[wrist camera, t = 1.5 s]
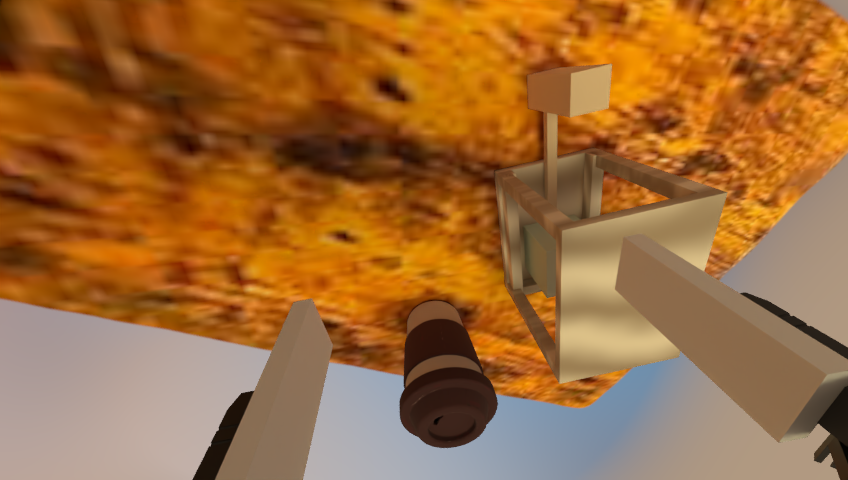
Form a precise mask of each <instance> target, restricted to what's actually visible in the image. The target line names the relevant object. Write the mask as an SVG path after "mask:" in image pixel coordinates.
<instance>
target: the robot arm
mask: <svg viewBox="0 0 848 480" xmlns="http://www.w3.org/2000/svg"><path fill="white" fill-rule="evenodd" d="M615 290H616V291H617V292H618V293H619V294H620V295H621V296H622V297H623V298H624V299H625V300H627V301H628V302H629V303H630V304H631V305H632V306H633V307H634V308H635V309H636V310H637V311H638V312H639V313H640V314H642V315H643V316H644V317H645V318H646V319H647V320H648V321H649V322H650V323H651V324H652V325H653V326H654V327H655V328H656V329H658V330H659V331H660V332H661V333H662V334H663V335H664V336H665V337H666V338H667V339H668V340H669V341H670V342H671V343H672V344H674V345H675V346H676V347H677V348H678V349H679V350H680V351H681V352H682V353H683V354H684V355H685V356H686V357H687V358H689V359H690V360H691V361H692V362H693V363H694V364H695V365H696V366H697V367H698V368H699V369H700V370H701V371H702V372H703V373H705V374H706V375H707V376H708V377H709V378H710V379H711V380H712V381H713V382H714V383H715V384H716V385H717V386H718V387H720V388H721V389H722V390H723V391H724V392H725V393H726V394H727V395H728V396H729V397H730V398H731V399H732V400H733V401H734V402H736V403H737V404H738V405H739V406H740V407H741V408H742V409H743V410H744V411H745V412H746V413H747V414H748V415H749V416H751V417H752V418H753V419H754V420H755V421H756V422H757V423H758V424H759V425H760V426H761V427H762V428H763V429H764V430H765V431H766V432H768V433H769V434H770V435H771V436H772V437H773V438H774V439H775V440H776V441H777V442H778V443H781V442H786V441H791V440H795V439H800V438H806V437H808V435H809V434H810V433H811V431H812V430H813V429H814V428H815V426H816V425H817V424H820V425H821V426H822V427H823V428H824V429H826V430H827V431H828V432H829V433H831V434H830V435H829V436H828V437H827V439H826V440H825V441H824V442H823V443H822V445H821V446H820V447H819V448H818V450H817V451H816V452H815V453H814V461H817V462H820V463H821V462H822V461H823V460H824V459H825V458H826V457H827V456H828V455H829V453H831V455H832V458H833V462H832V464H831V467H833V468H835V469H837V472H838V475H839V478H840V480H848V347H846V346H844V345H842V344H841V343H839V342H837V341H836V340H834V339H832V338H830V337H829V336H827V335H825V334H824V333H822V332H820V331H819V330H817V329H815V328H814V327H812V326H807V325H806V323H805V322H803V321H801V320H800V319H798V318H796V317H795V316H790V315H789V313H788V312H786V311H784V310H783V309H781V308H779V307H777V306H776V305H774V304H772V303H771V302H769V301H767V300H764V299H761V298H758V297H756V296H753V295H751V294H748V293H738V292H736V291H735V290H733V289H731V288H730V287H728V286H727V285H725V284H723V283H722V282H720V281H719V280H717V279H715V278H714V277H712V276H710V275H709V274H707V273H705V272H704V271H702V270H701V269H699V268H697V267H696V266H694V265H692V264H691V263H689V262H687V261H686V260H684V259H683V258H681V257H679V256H678V255H676V254H674V253H673V252H671V251H669V250H668V249H666V248H665V247H663V246H661V245H660V244H658V243H656V242H655V241H653V240H651V239H650V238H648V237H647V236H645V235H643V234H642V233H641V234H636V235H631V236H626V237H623V242H622V248H621V254H620V260H619V266H618V273H617V279H616V285H615ZM332 347H333V345H332V342H331V340H330V338H329V336H328V333H327V331H326V329H325V327H324V324H323V322H322V320H321V318H320V316H319V313H318V311H317V309H316V307H315V304H314V302H313V300H312V299H307V300H302V301H297V302H294V303H293V305H292V307H291V309H290V312H289V314H288V316H287V318H286V321H285V323H284V325H283V327H282V330H281V332H280V334H279V336H278V339H277V341H276V343H275V345H274V348H273V350H272V352H271V354H270V357H269V359H268V361H267V364H266V366H265V368H264V370H263V373H262V375H261V377H260V379H259V382H258V384H257V386H256V388H255V391H250V392H245V393H241V394H240V395H239V397H238V398H237V399H236V400H235V401H234V403H233V404H232V405H231V406H230V407H229V409H228V410H227V412H226V414H225V416H224V418H223V420H222V422H221V424H220V426H219V430H218V431H217V432H216V434H215V436H214V438H213V440H212V442H211V446H209V448H208V450H207V452H206V454H205V456H204V458H203V460H202V462H201V464H200V466H199V468H198V470H197V472H196V474H195V476H194V478H193V480H303V476H304V472H305V467H306V463H307V459H308V454H309V449H310V445H311V441H312V436H313V432H314V427H315V422H316V418H317V414H318V409H319V405H320V400H321V396H322V391H323V387H324V382H325V378H326V373H327V369H328V364H329V360H330V356H331V351H332Z"/></svg>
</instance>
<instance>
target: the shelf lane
mask: <svg viewBox="0 0 848 480" xmlns="http://www.w3.org/2000/svg"><path fill="white" fill-rule="evenodd" d="M604 171H607V172H609V173H611V174H614V175H616V176H618V177H621V178H623V179H625V180H628V181H630V182H633V183H635V184H637V185H640V186H642V187H644V188H647V189H649V190H651V191H654V192H656V193H658V194H661V195H663V196H666V197H668V198H670V199H669V200H664V201H660V202H656V203H651V204H647V205H643V206H638V207H634V208H630V209H625V210H621V211H617V212H612V213H608V214H603V215H600V209H601V197H602V185H603V173H604ZM494 174H495V184H496V195H497V205H498V216H499V226H500V236H501V247H502V257H503V268H504V278H505V286H506V288H507V290H508V292H509V294H510V295H511V297H512V299H513V301H514V303H515V304H516V306H517V308H518V310H519V312H520V313H521V315H522V317H523V319H524V321H525V322H526V324H527V326H528V328H529V330H530V331H531V333H532V335H533V337H534V339H535V340H536V342H537V344H538V346H539V348H540V349H541V351H542V353H543V355H544V357H545V359H546V360H547V362H548V364H549V366H550V368H551V369H552V371H553V373H554V375H555V377H556V378H557V380H558V382H559V384H561V383H565V382H570V381H574V380H579V379H583V378H587V377H592V376H596V375H601V374H605V373H610V372H614V371H619V370H623V369H628V368H632V367H637V366H641V365H646V364H650V363H655V362H659V361H664V360H668V359H673V358H677V357H679V354H680V350H679V349H678V348H677V347H676V346H675V345H674V344H672V343H671V342H670V341H669V340H668V339H667V338H666V337H665V336H664V335H663V334H662V333H661V332H660V331H659V330H658V329H656V328H655V327H654V326H653V325H652V324H651V323H650V322H649V321H648V320H647V319H646V318H645V317H644V316H643V315H642V314H640V313H639V312H638V311H637V310H636V309H635V308H634V307H633V306H632V305H631V304H630V303H629V302H628V301H627V300H625V299H624V298H623V297H622V296H621V295H620V294H619V293H618V292H617V291H616V290H615V285H616V279H617V273H618V266H619V260H620V254H621V248H622V242H623V237H626V236H631V235H636V234H641V233H642V234H643V235H645V236H647V237H648V238H650V239H651V240H653V241H655V242H656V243H658V244H660V245H661V246H663V247H665V248H666V249H668V250H669V251H671V252H673V253H674V254H676V255H678V256H679V257H681V258H683V259H684V260H686V261H687V262H689V263H691V264H692V265H694V266H696V267H697V268H699V269H701V270H702V271H704V270H705V267H706V263H707V260H708V257H709V253H710V250H711V246H712V243H713V240H714V236H715V233H716V230H717V226H718V223H719V219H720V216H721V213H722V209H723V206H724V203H725V199H726V196H727V192H724V191H721V190H718V189H715V188H712V187H709V186H706V185H703V184H700V183H698V182H695V181H692V180H689V179H686V178H683V177H680V176H677V175H674V174H671V173H668V172H665V171H662V170H659V169H656V168H653V167H650V166H647V165H644V164H641V163H638V162H635V161H632V160H629V159H626V158H623V157H620V156H617V155H614V154H611V153H608V152H605V151H602V150H599V149H596V148H590V149H586V150H581V151H577V152H573V153H568V154H564V155H560V156H557V208H556V207H554V206H553V205H552V204H550V203H549V202H548V201H547V200H545V188H544V159H543V160H538V161H534V162H530V163H526V164H521V165H517V166H513V167H508V168H504V169H500V170H495V171H494ZM573 214H574V215H575V216H576V217H578V218H579V219H581V220H577V221H572V220H571V219H570V218H568V217H567V216H569V215H573ZM534 223H539V224H540V225H541V226H542V227H543V228H544V229H545V230H546V231H547V232H548V233H549V234H550V235H551V236H552V237H553V238H554V239H555V240H556V337H555V343H554V341H553V340H552V338H551V336H550V335H549V333H548V332H547V330H546V328H545V327H544V325H543V324H542V322H541V320H540V319H539V317H538V315H537V314H536V312H535V311H534V309H533V307H532V306H531V304H530V303H529V301H528V299H527V298H526V296H525V295H526V294H531V293H535V292H540V291H542V290H541V289H540V287H539V286H538V284H537V283H536V282H535V280H534V279H533V278H532V276H531V275H530V273H529V272H528V271H527V269H526V268H525V249H524V231H523V226H525V225H530V224H534Z"/></svg>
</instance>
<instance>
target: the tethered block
mask: <svg viewBox="0 0 848 480" xmlns="http://www.w3.org/2000/svg"><path fill="white" fill-rule="evenodd" d="M611 71H612V64H603V65H589V66H575V67H561V68H555V69H551V70H546V71H542V72H538V73H534V74H529V75H527V89H528V109H533V110H537V111H542V112H543V118H544V188H545V200H547V201H548V202H549V203H550V204H552V205H553V206H554V207H556V208H557V115H561V116H566V117H573V116H578V115H582V114H586V113H590V112H595V111H599V110H603V109H608V108H609V95H610V83H611ZM567 217H568V218H570V219H571V220H572V221H577V220H581V219H579V218H578V217H576V216H575V215H574V214H573V215H569V216H567ZM523 231H524V249H525V268H526V269H527V271H528V272H529V273H530V275H531V276H532V278H533V279H534V280H535V282H536V283H537V284H538V286H539V287H540V289H541V290H542V291H543V293H544V294H545V296H546V297H547V298H549V297H553V296H556V240H555V239H554V238H553V237H552V236H551V235H550V234H549V233H548V232H547V231H546V230H545V229H544V228H543V227H542V226H541V225H540V224H539V223H534V224H530V225H525V226H523Z"/></svg>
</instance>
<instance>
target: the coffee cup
mask: <svg viewBox="0 0 848 480" xmlns="http://www.w3.org/2000/svg"><path fill="white" fill-rule="evenodd" d="M404 388H405V389H404V391H403V393H402V395H401V398H400V419H401V422H402V424H403V426H404V427H405V428H406V429H407V430H408V431H409V432H410V433H412V434H413V435H415V436H417V437H419V438H420V439H421V440H422V441H423V442H425V443H426V444H428V445H431V446H434V447H439V448H451V447H457V446H461V445H464V444H467V443H469V442H471V441H473V440H475V439H476V438H477V437H479V436H480V435H481V434H482V432H483V431H484V429H485V428H486V425H487V424H488V422H489V421H490V420H491V419H492V418H493V416H494V415H495V413H496V410H497V405H498V403H497V397H496V394H495V391H494V388H493V385H492V384H491V382H490V380H489V379H488V378H487V377H486V376H484V375H483V370H482V367H481V364H480V362H479V359H478V357H477V354H476V352H475V349H474V347H473V344H472V342H471V340H470V337H469V335H468V332H467V331H466V329H465V328H464V326H463V324H462V321H461V319H460V316H459V314H458V312H457V310H456V309H455V308H454V307H453V306H452V305H450V304H448V303H446V302H443V301H429V302H425V303H422V304H420V305H419V306H417V307H416V308H415V309H414V310H413V311H412V312H411V313H410V315H409V317H408V321H407V338H406V342H405V359H404Z"/></svg>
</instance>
